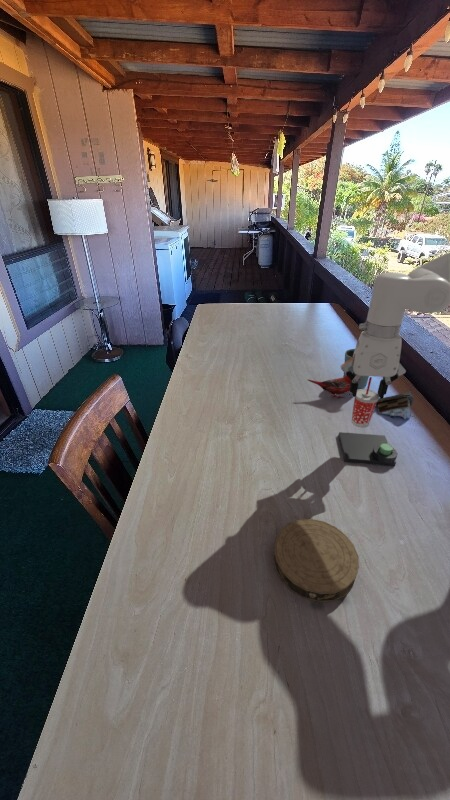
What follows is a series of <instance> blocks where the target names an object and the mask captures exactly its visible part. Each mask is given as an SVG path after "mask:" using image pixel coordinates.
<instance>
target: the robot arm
mask: <svg viewBox="0 0 450 800" xmlns="http://www.w3.org/2000/svg"><path fill="white" fill-rule="evenodd" d="M448 306H450V252H448V253H445V254H442V255H440V256H438V257H436V258H434V259H432V260H430V261H428V262H426V263H423V264H422V265H420V266H418V267H416V268H415V269H413V270H411V271H410V272H409V273H408V274H405V273H400V272H382V273H379V274H378V275H377V276H376V278H375V279H374V283H373V288H372V294H371V297H370V302H369V308H368V312H367V317H366V319H365V322H361V323H359V324H358V329H359V330H362V331H361V332H360V335H359V337H358V339H357V341H356V345H355V347H354V349H355V351H354V355H353V357H352V358H351V359H349V360H348V361H347V362H345V361H344V362H343V363H342V364H341V365H340V369H341V371H342V372H343V374H344V373H345V374H346V375H347V376H348V378H349V379H350V380H351V384H350V391H349V393H351V396H352V398H355V397H356V394H357V390H359V388H358V380H359V378H360V377H361V376H369V377H379V378H382V379H381V380H379V385H378V388H377V394H378V395H379V398H381V399H383V398H385V395H386V394H387V392H388V388H389V386H390V385H391V384H392V383H393V382H394V381H396V380H397V379H399V377H401V376H403V375H404V374H406V372H407V370H406V369H405V367H404V366H403V365H402V363H400V360H401V352H402V341H403V337H402V335H400V330H401V327H402V323H403V321H404V320H403V319H404V315H405V311H406V310H407V311H411V312H418V313H423V314H424V313H425V314H433V313H434V314H435V313H438V312H441V311H443V310H446V309H447V307H448ZM351 366H352V367H353V373H352V372H351V371H350V370H349V369H348V368H349V367H351Z"/></svg>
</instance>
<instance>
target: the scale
mask: <svg viewBox="0 0 450 800" xmlns="http://www.w3.org/2000/svg"><path fill="white" fill-rule="evenodd" d="M337 436H338V440H339V444H340V449H341V453H342V458H343V461H344V463H349V464H362V465H373V466H383V467H385V466H386V467H396V464H397V461H396V460H397V458H398V452H397V449H395V448H394V447H393V446H392V448H393V449H392V452H391V455H383V454H381V453H380V452H379V449H380V445H381V444H389V442H388V440H387V438H386V435H383V434H370V433H354V432H342V431H341V432H340V431H339V432H338V435H337Z"/></svg>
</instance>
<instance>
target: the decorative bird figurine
mask: <svg viewBox="0 0 450 800" xmlns="http://www.w3.org/2000/svg"><path fill="white" fill-rule="evenodd" d="M359 380H361V379H360V378H359ZM307 381H308V382H309V383H312V384H315V385H318V386H319V387H320V388H321V389H322V390H323V391H326V392H327V393H330V394H331V395H330V397H332V398H336V399H341V398H344V399H345V396H340V395H343V394H347V393H348V392H350V384H351V380H350V379H349V378H348V376H345V377H343V376H342V377H339V378H338V377H337V378H331V379H327V380H324V381H317V380H314V379H313V380H312V379H307Z"/></svg>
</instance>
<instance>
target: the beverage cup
mask: <svg viewBox="0 0 450 800" xmlns="http://www.w3.org/2000/svg"><path fill="white" fill-rule="evenodd" d="M372 377H373V376H369V378H368V382H367V388H358V389H357V394H356V397H354V400H353V406H352V414H351V424H352V425H353V426H355V427H357V428H361V429H365V428H368V427H369V426H370V423H371V420H372V417H373V414H374V411H375V409H376V402H377V401H378V399H379V398H380V397H379V395H378V392H376V391H374V390H371V389H370V387H371V383H372Z"/></svg>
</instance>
